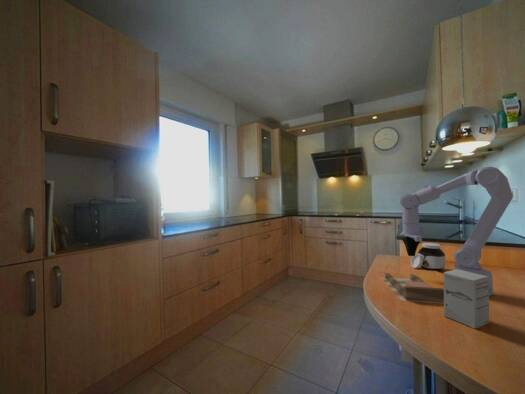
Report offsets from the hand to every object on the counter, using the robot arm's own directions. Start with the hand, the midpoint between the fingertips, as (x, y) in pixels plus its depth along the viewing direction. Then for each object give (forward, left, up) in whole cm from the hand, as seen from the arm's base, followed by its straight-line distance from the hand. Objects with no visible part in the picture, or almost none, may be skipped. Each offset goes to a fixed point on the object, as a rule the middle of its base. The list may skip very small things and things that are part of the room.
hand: (411, 255), depth 95 cm
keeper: (-13, +17, -9) cm, 23 cm away
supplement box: (-27, +19, -10) cm, 34 cm away
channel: (-7, +12, -9) cm, 17 cm away
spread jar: (+5, -19, -10) cm, 22 cm away
